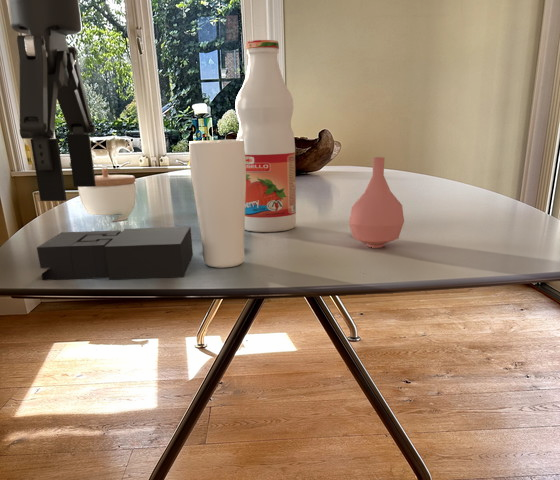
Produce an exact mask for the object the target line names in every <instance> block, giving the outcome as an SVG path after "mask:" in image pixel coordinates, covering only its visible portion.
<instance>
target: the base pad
mask: <svg viewBox="0 0 560 480" xmlns="http://www.w3.org/2000/svg"><path fill="white" fill-rule="evenodd" d="M107 239H110V240H111V241H110V242H109V243H108V244H107V245H106V246H104V249H105V256H106V263H107V270H108V276H109V278H108V280H109V281H111V280H113V281H114V280H135V279H137V280H138V279H141V280H142V279H166V278H167V279H168V278H169V279H170V278H184V277H185V275H186V272H187V270H188V268H189V265H190V263H191V261H192V258H193V257H194V252H193V251H194V250H193V239H192V228H191V226H169V227H167V226H166V227H165V226H164V227H140V228H139V227H138V228H124V229H122V230H121V233H119V234H118V235H117V236H103V235H87V236H86V237H85V238H83V239H82V240H81V241H79V242H92V241H99V240H107Z"/></svg>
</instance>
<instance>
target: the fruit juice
mask: <svg viewBox="0 0 560 480" xmlns="http://www.w3.org/2000/svg"><path fill="white" fill-rule="evenodd" d="M279 52H280V45H279V41H278V40H276V39H256V40H249V41H246V54H247V55H248V65H247V70H246V74H245V77H244V81H243V84H242V87H241V88H240V90H239V91H238V94H237V96H236V99H235V111H236V116H237V119H238V123H239V130H238V133H237V137H236V140H243V141H244V148H245V159H246V198H245V228H244V231H248V232H254V233H275V232H276V233H277V232H284V231H289V230H292V229H294V228H295V227H296V225H297V222H296V221H297V197H296V196H297V195H296V194H297V193H296V143H295V142H296V141H295V134H294V130H293V129H292V125H291V124H292V117H293V113H294V99H293V95H292V93H291V91H290V90H289V89H288V87H287V85H286V83H285V81H284V77H283V75H282V72H281V69H280V65H279V60H278V54H279Z"/></svg>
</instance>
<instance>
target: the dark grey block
mask: <svg viewBox="0 0 560 480" xmlns="http://www.w3.org/2000/svg"><path fill="white" fill-rule="evenodd" d="M121 232H122V230H120V229H119V230H94V231H93V230H92V231H91V230H89V231H63V232H60V233H58V234H57V235H55V236H53V237H51V238H50V239H48V240H47V241H45V242H43V243H41V244H40V245H38V246H36V252H37V257H38V264H39V268H40V269H46V270H45V271H43V272H42V273H41V278H42V281H54V280H56V281H57V280H58V281H59V280H82V279H85V280H87V279H109V276H108V270H107V263H106V256H105V249H104V246H106V245H107V244H108V243H109V242H110V241H111V240H110V239H107V240H99V241H92V242H79V241H81V240H82V239H83V238H85V237H86V236H87V235H103V236H117V235H118V234H119V233H121Z"/></svg>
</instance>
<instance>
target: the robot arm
mask: <svg viewBox="0 0 560 480" xmlns="http://www.w3.org/2000/svg"><path fill="white" fill-rule="evenodd" d="M6 5H7V13H8V18H9V24H10V27H11V29H12V30H13V31H14V32H16V33H19V34H20V35H19V34H18V35H17V36H16V43H17V50H18V58H19V59H18V60H19V135H20V138H21V139H23V140H25V139H28V140H29V139H30V140H29V141H30V146H31V152H32V158H33V163H34V169H35V177H36V182H37V183H36V184H37V190H38V194H39V195H38V196H39V201H40V202H65V201H67V200H68V199H67V194H66V186H65V179H64V172H63V165H62V159H61V152H60V151H61V150H60V143H59V138H54V135H55V126H56V125H55V124H56V114H57V102H58V106H59V108H60V111H61V113H62V116H63V119H64V122H65V124H66V127H67V129H68V133H67V134H66V139H67V146H68V147H67V148H68V153H69V161H70V167H71V176H72V182H73V187H74V188H78V187H95V186H96V184H95V176H96V175H95V168H94V161H93V151H92V145H91V137H90V134H96V125H95V124H94V121H93V119H92V115H91V111H90V106H89V103H88V99H87V94H86V90H85V86H84V82H83V77H82V73H81V69H80V63H79V57H78V50H77V48H76V46H68V41H67V36H68V35H69V36H74V35H75V36H76V35H78V34H80V33H81V32H82V29H83V24H82V16H81V7H80V0H6ZM21 34H23V35H21Z"/></svg>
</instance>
